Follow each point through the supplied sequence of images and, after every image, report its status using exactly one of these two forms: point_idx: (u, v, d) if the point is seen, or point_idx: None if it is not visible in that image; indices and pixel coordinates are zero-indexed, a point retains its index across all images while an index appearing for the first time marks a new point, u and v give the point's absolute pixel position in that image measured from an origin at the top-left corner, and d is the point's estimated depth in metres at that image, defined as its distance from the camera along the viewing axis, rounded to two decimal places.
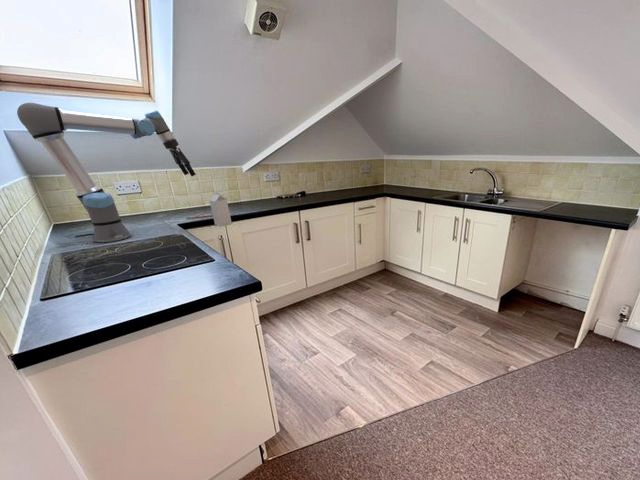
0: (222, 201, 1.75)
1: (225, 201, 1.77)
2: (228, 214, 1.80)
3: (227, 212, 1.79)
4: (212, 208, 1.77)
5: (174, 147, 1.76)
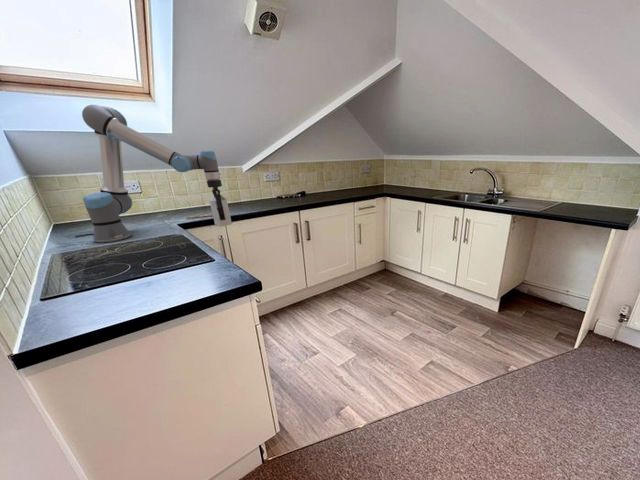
0: (222, 201, 1.75)
1: (225, 201, 1.77)
2: (228, 214, 1.80)
3: (227, 212, 1.79)
4: (212, 208, 1.77)
5: (215, 187, 1.70)
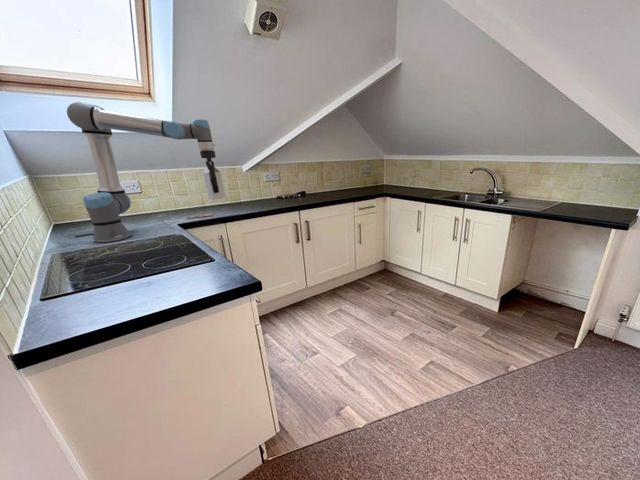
0: (216, 173, 1.71)
1: (219, 173, 1.72)
2: (222, 187, 1.75)
3: (221, 185, 1.74)
4: (205, 180, 1.72)
5: (208, 158, 1.66)
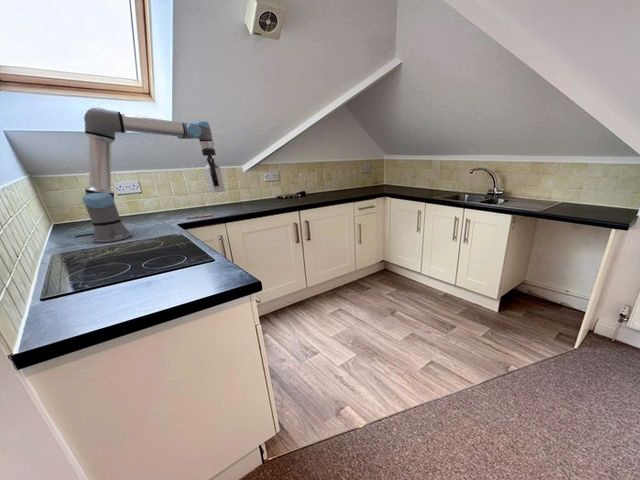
0: (216, 169, 1.92)
1: (218, 169, 1.94)
2: (221, 181, 1.97)
3: (220, 179, 1.96)
4: (207, 175, 1.94)
5: (209, 155, 1.87)
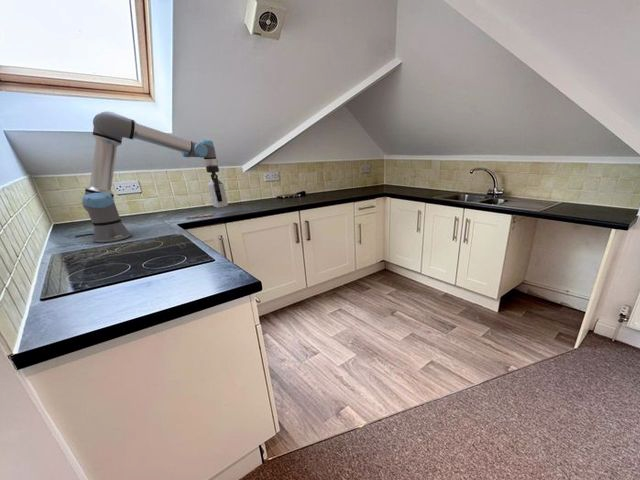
0: (219, 185, 2.00)
1: (222, 185, 2.01)
2: (224, 197, 2.04)
3: (224, 195, 2.03)
4: (211, 191, 2.01)
5: (213, 172, 1.95)
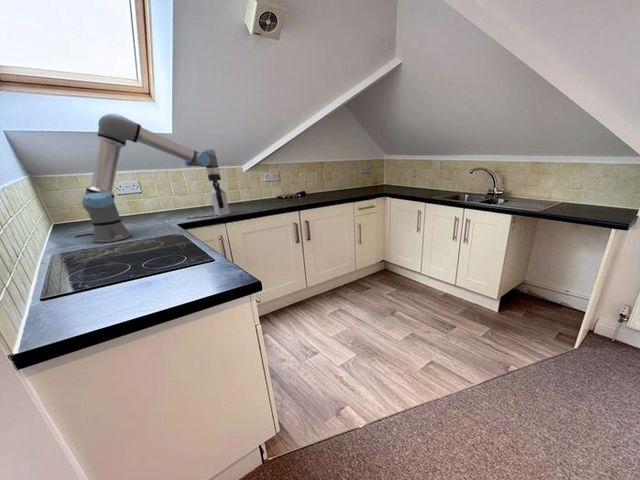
0: (221, 194, 2.02)
1: (224, 194, 2.03)
2: (226, 205, 2.07)
3: (226, 203, 2.06)
4: (213, 200, 2.04)
5: (215, 181, 1.97)
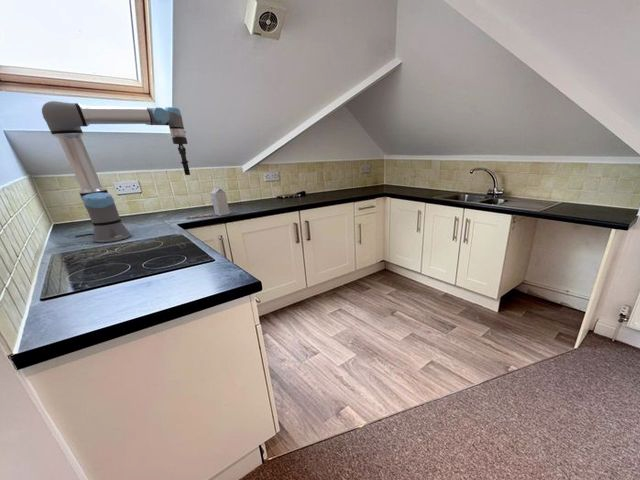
0: (221, 194, 2.02)
1: (224, 194, 2.03)
2: (226, 205, 2.07)
3: (226, 203, 2.06)
4: (213, 200, 2.04)
5: (180, 144, 1.76)
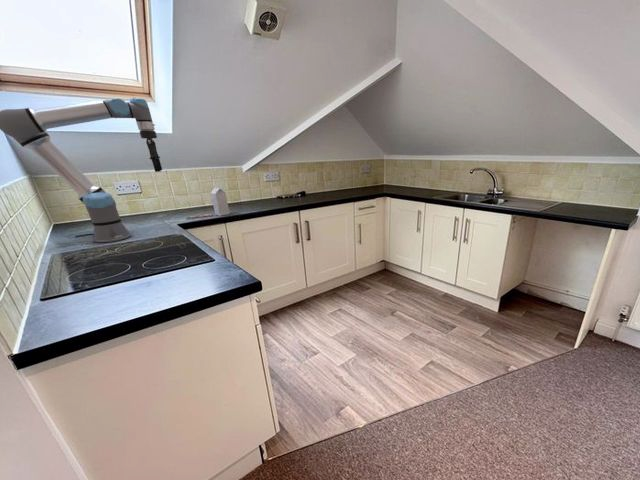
0: (221, 194, 2.02)
1: (224, 194, 2.03)
2: (226, 205, 2.07)
3: (226, 203, 2.06)
4: (213, 200, 2.04)
5: (148, 138, 1.64)
